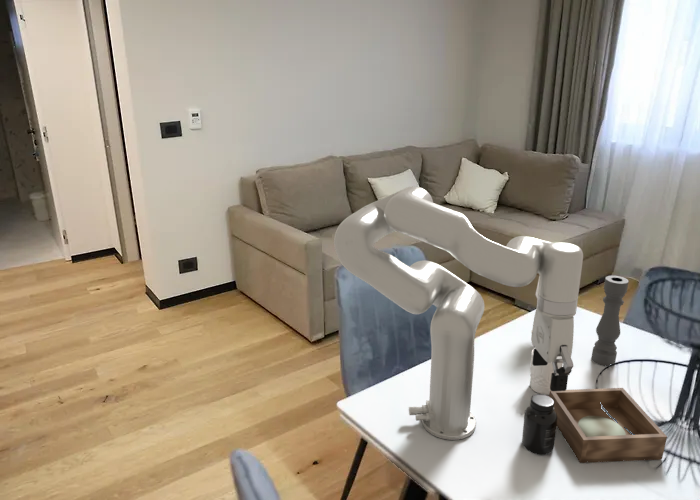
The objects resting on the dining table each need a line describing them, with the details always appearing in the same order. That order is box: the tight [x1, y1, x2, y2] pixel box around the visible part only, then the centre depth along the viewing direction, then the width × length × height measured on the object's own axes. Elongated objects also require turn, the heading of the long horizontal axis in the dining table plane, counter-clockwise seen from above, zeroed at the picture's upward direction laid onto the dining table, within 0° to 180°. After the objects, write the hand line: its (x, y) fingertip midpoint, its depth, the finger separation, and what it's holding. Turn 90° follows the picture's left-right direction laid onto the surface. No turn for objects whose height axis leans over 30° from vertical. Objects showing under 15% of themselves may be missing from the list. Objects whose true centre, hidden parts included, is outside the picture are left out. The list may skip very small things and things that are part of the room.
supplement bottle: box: [521, 393, 558, 456], centre depth 120 cm, size 7×7×12 cm
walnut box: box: [548, 387, 668, 464], centre depth 125 cm, size 18×18×6 cm
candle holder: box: [590, 275, 629, 367], centre depth 151 cm, size 6×6×25 cm
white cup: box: [529, 347, 563, 396], centre depth 142 cm, size 8×8×10 cm
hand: (548, 377), depth 116 cm, fingers open, 9 cm apart
